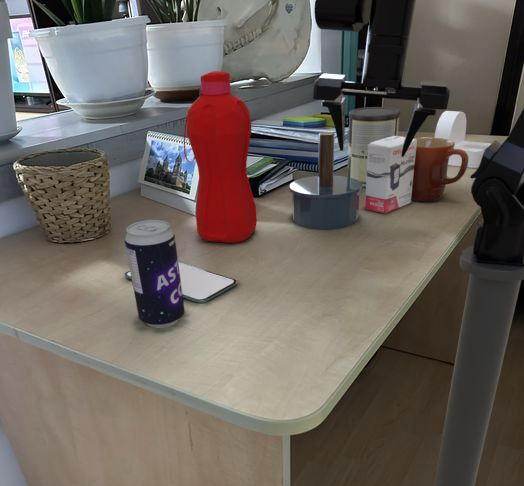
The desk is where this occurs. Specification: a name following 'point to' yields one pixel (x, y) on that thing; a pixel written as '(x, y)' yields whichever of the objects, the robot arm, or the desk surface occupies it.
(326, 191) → the lid
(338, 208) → the pot
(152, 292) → the beverage can
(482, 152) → the tape dispenser
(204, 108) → the water bottle
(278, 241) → the desk surface
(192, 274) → the smartphone
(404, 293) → the desk surface
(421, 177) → the mug
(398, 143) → the ink box
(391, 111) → the coffee can
